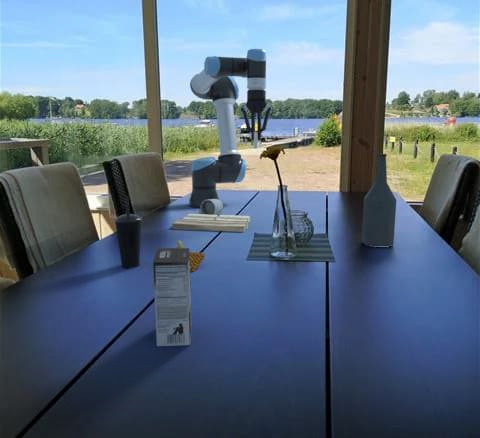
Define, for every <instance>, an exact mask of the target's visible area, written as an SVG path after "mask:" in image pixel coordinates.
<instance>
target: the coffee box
mask: <svg viewBox="0 0 480 438" xmlns="http://www.w3.org/2000/svg"><path fill="white" fill-rule="evenodd" d="M189 253H190V247H184V248H176V247H160V248H156V251H155V254H154V258H153V262H152V265H153V266H152V267H153V268H152V269H153V270H152V271H153V283H154V284H153V288H154V289H153V291H154V309H155V310H154V312H155V313H154V314H155V316H154V317H155V334H156V335H155V338H156V339H155V340H156V347H173V346H174V347H175V346H176V347H178V346H191V345H192V343H191V342H192V298H191V296H192V293H191V292H192V291H191V290H192V289H191V271H190V255H189Z"/></svg>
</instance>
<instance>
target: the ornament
mask: <svg viewBox="0 0 480 438" xmlns="http://www.w3.org/2000/svg"><path fill="white" fill-rule="evenodd" d="M176 245H177V246H176V247H175V248H185V247H184V244H183V243H182V241H181V240H177V241H176ZM189 255H190V272H196V269H198V267H199V265H201V263H202V262H203V260H204V259H205V257H206V255H205V254H204V253H203V252H195V251H194V252H193V251H189Z"/></svg>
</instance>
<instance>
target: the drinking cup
mask: <svg viewBox="0 0 480 438" xmlns="http://www.w3.org/2000/svg"><path fill="white" fill-rule="evenodd" d="M129 205H130V203H129V196H128V195H126V196H125V208H126V209H125V210H126V213H125V214H122V215H118V216H117V217H116V218H114V219H113V222H114V223H115V230H116V235H117V236H116V237H117V242H118V250H119V255H120V262H121V267H122V268H125V269H133V268H137V267H139V266H140V259H141V255H140V254H141V238H142V237H141V236H142V235H141V233H142V221H143V217H142V216H139V215H137V214H133V213H130V206H129Z"/></svg>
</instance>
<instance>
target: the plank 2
mask: <svg viewBox="0 0 480 438" xmlns="http://www.w3.org/2000/svg"><path fill="white" fill-rule="evenodd" d="M216 220H223V221H248V224H249V222H251V215H236V214H235V215H232V214H219V215H218V218H217V219H216Z"/></svg>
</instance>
